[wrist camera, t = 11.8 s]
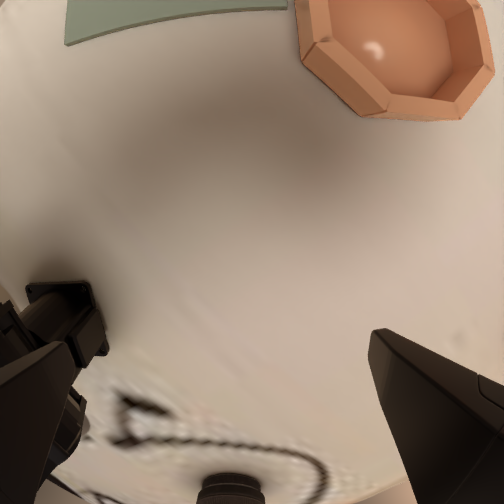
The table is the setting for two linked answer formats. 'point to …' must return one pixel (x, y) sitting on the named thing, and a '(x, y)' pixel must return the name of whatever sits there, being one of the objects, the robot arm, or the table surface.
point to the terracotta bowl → (398, 55)
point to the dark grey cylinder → (230, 490)
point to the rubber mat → (145, 13)
